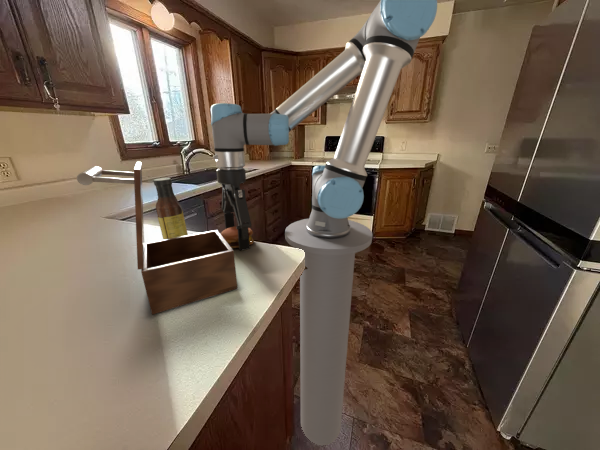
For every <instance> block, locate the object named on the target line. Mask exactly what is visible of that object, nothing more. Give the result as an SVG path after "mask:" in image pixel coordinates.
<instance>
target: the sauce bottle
mask: <svg viewBox="0 0 600 450" xmlns="http://www.w3.org/2000/svg"><path fill="white" fill-rule="evenodd" d="M153 185H154V187H155V189H156V193H157V195H156V196H157V201H156V203H155V210H156V214H157V220H158V224H159V228H160V232H161V236H162V240H164V239H169V238H175V237H180V236H186V235H189V234H188V228H187V224H186V219H185V215H184V211H183V207H182V205H181V204H180V202H179V199H177V197H176V195H175V192H174V190H173V189H174V188H173V181H172V179H171V178H170V177H161V178H155V179H153Z"/></svg>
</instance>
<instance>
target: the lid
mask: <svg viewBox="0 0 600 450" xmlns="http://www.w3.org/2000/svg"><path fill="white" fill-rule="evenodd" d="M103 175H105V176H103ZM109 176H122V177H123V178H122V177H109ZM125 177H133V178H125ZM76 181H77V183H79V184H80V185H82V186H90V185H92V184H93V183H107V184H124V185H126V184H128V185H133V186H134V187H133V188H134V211H135V212H134V213H135V215H134V216H135V236H136V237H135V238H136V239H135V240H136V261H137V264H136V265H137V270H141V269H143V264H144V243H145V231H144V230H145V229H144V200H143V196H144V195H143V167H142V162H141V161H136V163H135V164H134V168H133V172H132V171H121V170H109V169H107V170H106V169H102V167H100V166H97V165H94V166H93V165H92V166H91V167H89V168H87V169H86V170H84V171H82V172H80V173H78V175H76Z"/></svg>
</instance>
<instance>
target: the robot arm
mask: <svg viewBox="0 0 600 450" xmlns="http://www.w3.org/2000/svg"><path fill="white" fill-rule="evenodd" d="M437 11H438V0H379V2H378V3H377V5H375V7H374V9H373V11H372V12H371V14H370V15H369V16H368V18H367V20H366V21H365V22H364V24H363V26H362V27H361V28H360V30H358V31H357V33H356V34H355V35H354V36H353V37H352V38H351V39H350V40H349V41H347V42H346V44H345V48H344V50H343V51H342V52H341V53H340V54H338V55H337V56H336V57H335V58H334V59H333V60H331V61H330V62H329V63H328V64H327V65H326V66H324V67H323V68H322V69H321V70H319V71H318V72H317V73H316V74H315V75H314V76H312V77H311V78H310V79H309V80H308V81H307V82H306V83H304V84H303V85H302V86H300V87H299V89H297V90H296V91H295V92H293V94H292V95H290V96H289V97H288V98H287V99H286V100H284V101H283V102H282V103H281V104H280V105H278V106H277V107H276V108H275V109H274V110H273V111H271V112H270V113H245V112H243V111H242V106H241V105H239V104H237V103H225V102H224V103H223V102H220V103H219V102H218V103H214V104H212V105H211V106H210V119H211V123H210V126H211V133H212V139H213V149H214V150H213V151H214V155H212V158H213V160H215V166H216V168H217V169H216V179H217V184H220V185H221V191H222V192H221V211H223V217H224V227H225V229H227V228H230V227H236V226H235V225H236V224H235V218H236V222H237V227H236V229H238V240H239V248H238V250H239V251H241V252H242V251H246V250H250V249H251V248H250V246H251V245H250V244H249V231H248V228H251V227H252V222H251V218H250V212H249V208H248V203H247V197H246V190H245V189H241V186H240V185H241V184H244V183H246V182H247V176H246V169H245V168H244V167H245V166H246V158H245V157H246V156H245V155H246V154H245V147H244V146H245V145H247V146H250V145H251V146H274V147H277V146H287V145H289V142H290V132H291V131H293V129H294V128H296V127H297V126H299V125H300V124H301V123H303V121H305V120H306V119H307V118H308V117H309V116H311V115H312V114H313V113H315V111H317V110H318V109H319V108H320V107H322V106H323V105H324V104H325V103H326V102H328V101H329V100H330V99H332V98H333V97H334V96H335V95H336V94H338V93H339V92H340V91H341V90H342V89H344V88H345V87H346V86H348V85H349V84H350V83H351V82H352V81H354V80H356V78H357V77H358V76H359V79H358V83H357V87H356V89H355V91H354V96H353V98H352V101H351V104H350V107H349V111H348V113H347V117H346V119H345V122H344V125H343V129H342V131H341V134H340V138H339V140H338V144H337V146H336V149H335V153H334V156H333V158H331V159H329V160H327V161H326V162H325V165H315V166H314V167H313V168H312V173H311V177H312V184H311V185H312V188H311V189H312V193H311V195H312V196H311V212H310V215H309V217H308V219H309V221H308V223H307V232H308V233H309V234H310V235H312V236H314V237H318V238H323V239H337V238H342V237H345V236H347V235H348V234H349V233H350V225H349V222H348V220H349V219H348V218H349V217H351V216H353V215H355V214H357V212H359V210H360V209H361V208H362V205H363V203H364V198H365V195H364V189H363V187H364V185H365V183H366V179H367V177H368V173H367V171H366V168H365V166H366V163H367V161H368V159H369V156H370V153H371V150H372V147H373V145H374V142H375V140H376V137H377V134H378V131H379V129H380V127H381V123H382V121H383V118H384V115H385V114H386V113H385V112H386V110H387V108H388V104H389V102H390V99H391V97H392V94H393V92H394V89H395V86H396V84H397V81H398V79H399V76H400V72H401V70H402V69H404V68H405V67H406V66H408V65H409V64H411V62H412V59H413V57H414V54H415V52H416V49H417V47H418V45H419V41H420V39H421V38H422V37H423V36H424V35H426V34H427V32H428V31H429V30H430V28H431V27H432V25H433V24H434V21H435V18H436V16H437ZM234 215H235V216H234Z"/></svg>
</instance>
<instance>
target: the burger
mask: <svg viewBox="0 0 600 450" xmlns="http://www.w3.org/2000/svg"><path fill="white" fill-rule="evenodd" d="M237 226H238V225H237ZM237 226H235V227H230V228H227V229H226V228H225V229H224V230H222V231H221V232H220V234H221V235H222V236H223V238H224V239H225V240H226V242H227V243H228V244H229V245H230V247H231V248H232V249H239V240H238V229H236V227H237ZM248 231H249V246H251V245H253V244H254V239H253V236H252V235H253V234H254V231H253V230H252V229H251V227H248ZM250 241H252V242H250Z"/></svg>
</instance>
